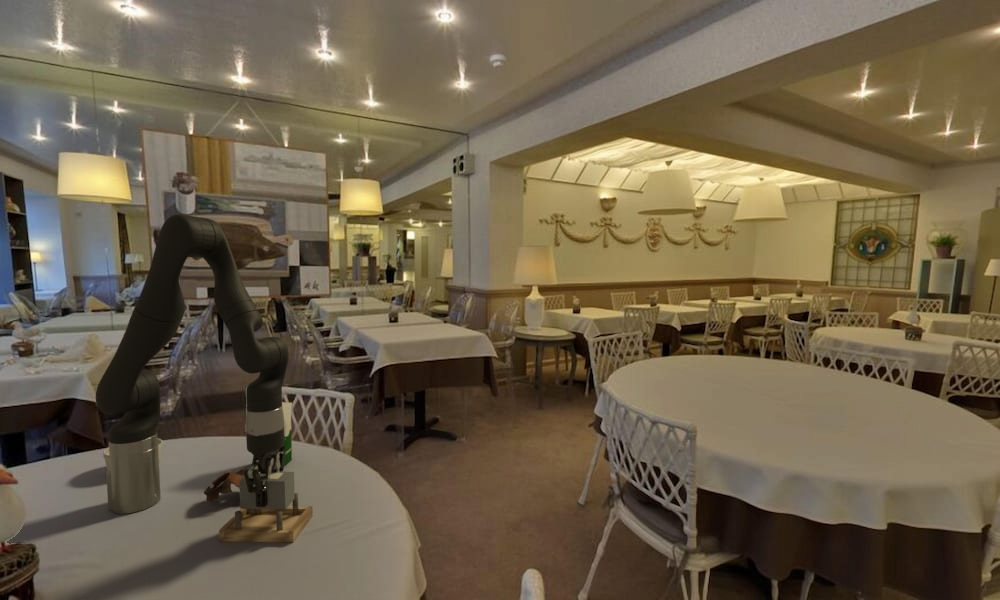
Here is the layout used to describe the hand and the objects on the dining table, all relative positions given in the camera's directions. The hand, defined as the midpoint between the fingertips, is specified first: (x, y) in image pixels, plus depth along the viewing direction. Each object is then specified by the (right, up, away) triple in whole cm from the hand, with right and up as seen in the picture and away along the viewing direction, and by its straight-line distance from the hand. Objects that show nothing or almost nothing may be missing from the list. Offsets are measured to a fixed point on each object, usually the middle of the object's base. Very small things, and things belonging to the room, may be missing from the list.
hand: (267, 499), depth 101 cm
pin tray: (0, -7, +1) cm, 7 cm away
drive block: (0, -1, 0) cm, 1 cm away
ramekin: (-52, -4, +27) cm, 59 cm away
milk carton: (-14, -4, +31) cm, 35 cm away
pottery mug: (-15, -6, +13) cm, 21 cm away
